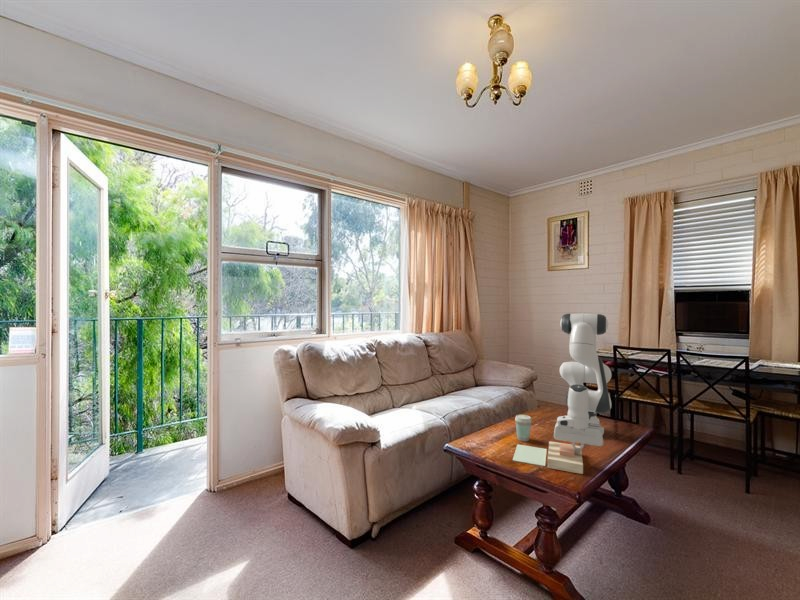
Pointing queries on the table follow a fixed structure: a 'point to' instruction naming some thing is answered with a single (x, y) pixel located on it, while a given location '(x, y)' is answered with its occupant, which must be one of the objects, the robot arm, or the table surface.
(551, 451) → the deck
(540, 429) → the table surface
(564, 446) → the pink rectangular block
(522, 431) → the coffee cup
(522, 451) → the mat
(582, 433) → the robot arm
